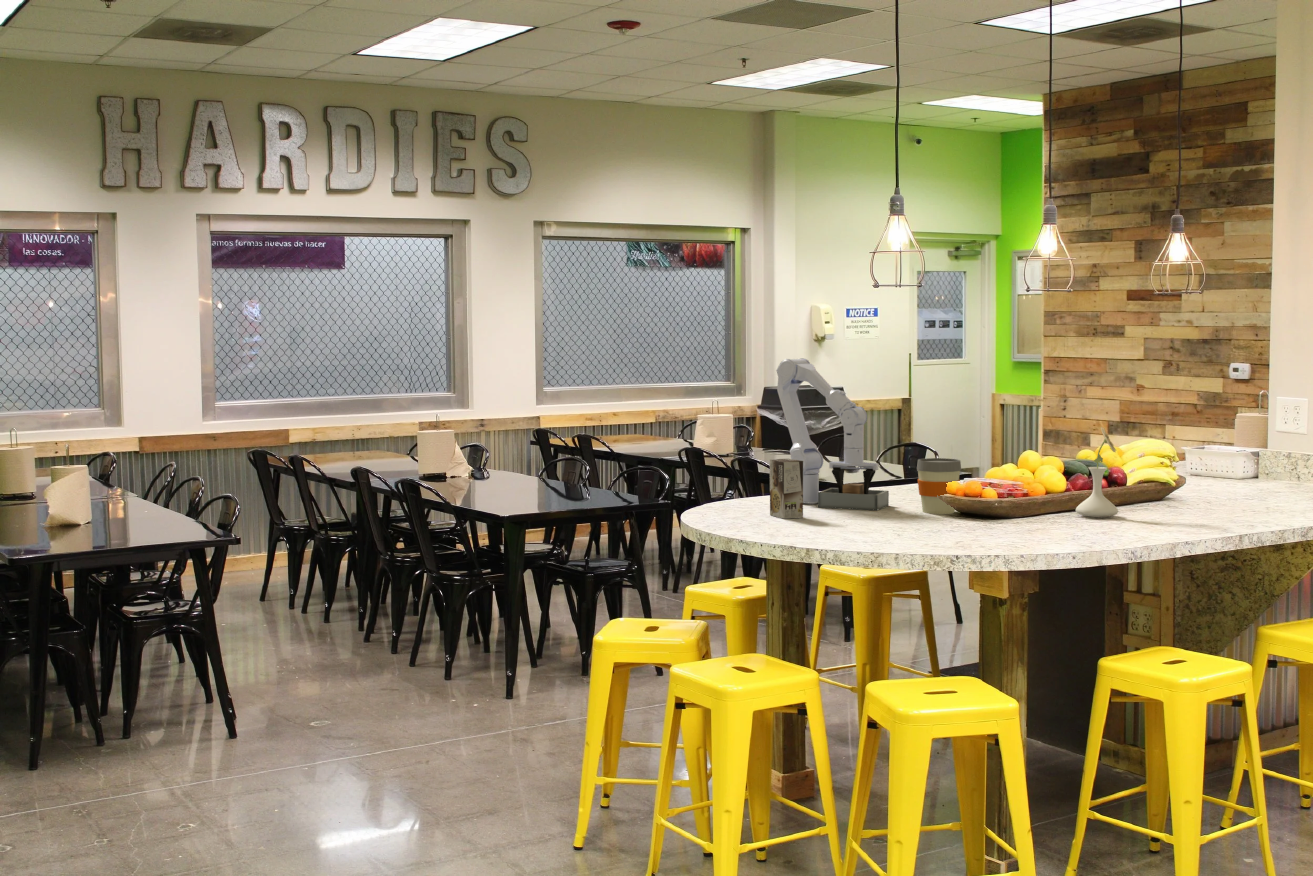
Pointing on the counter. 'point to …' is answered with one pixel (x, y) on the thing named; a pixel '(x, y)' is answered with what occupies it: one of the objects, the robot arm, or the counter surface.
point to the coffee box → (786, 488)
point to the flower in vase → (1098, 490)
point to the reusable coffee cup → (936, 482)
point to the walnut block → (853, 488)
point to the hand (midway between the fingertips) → (853, 493)
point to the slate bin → (853, 500)
